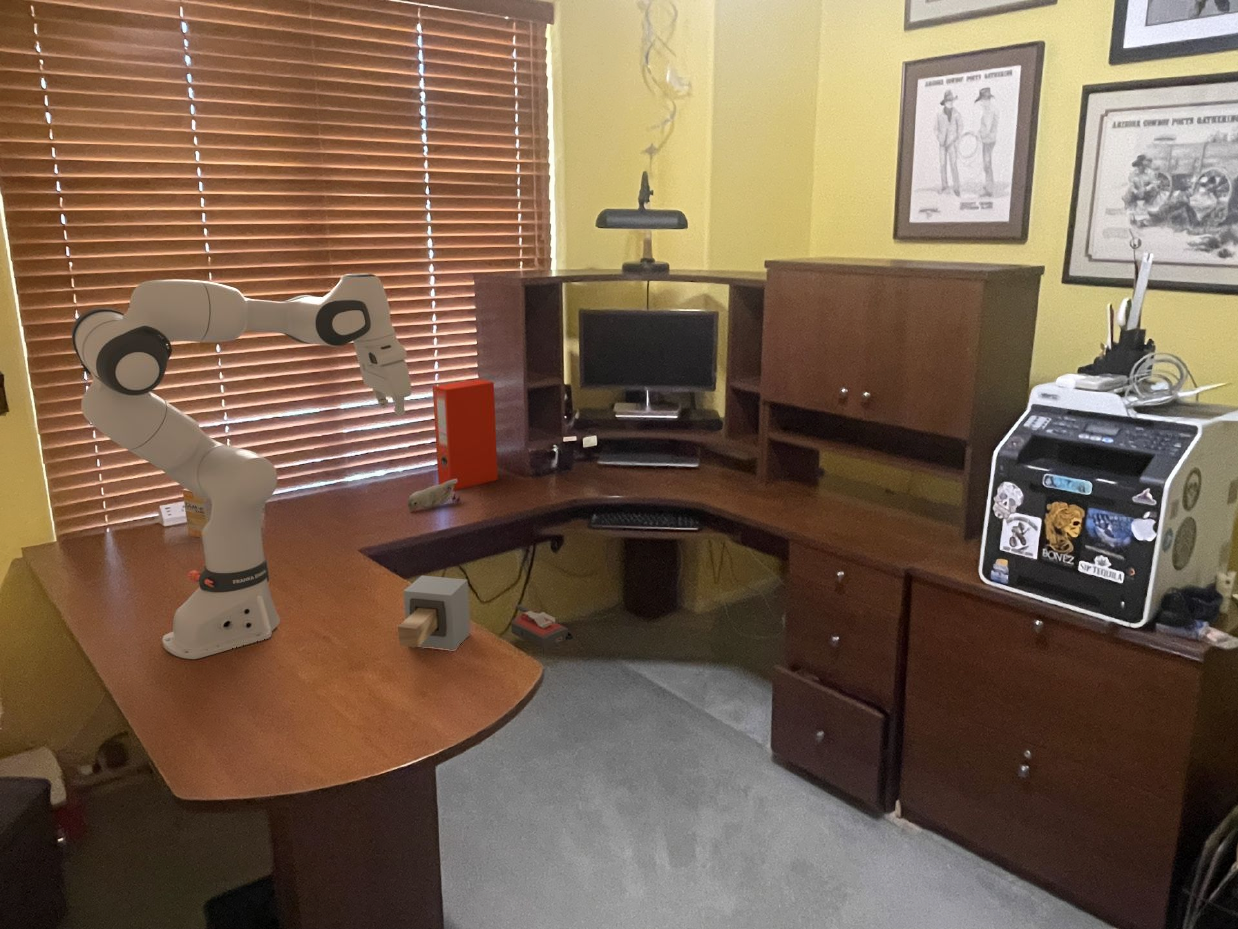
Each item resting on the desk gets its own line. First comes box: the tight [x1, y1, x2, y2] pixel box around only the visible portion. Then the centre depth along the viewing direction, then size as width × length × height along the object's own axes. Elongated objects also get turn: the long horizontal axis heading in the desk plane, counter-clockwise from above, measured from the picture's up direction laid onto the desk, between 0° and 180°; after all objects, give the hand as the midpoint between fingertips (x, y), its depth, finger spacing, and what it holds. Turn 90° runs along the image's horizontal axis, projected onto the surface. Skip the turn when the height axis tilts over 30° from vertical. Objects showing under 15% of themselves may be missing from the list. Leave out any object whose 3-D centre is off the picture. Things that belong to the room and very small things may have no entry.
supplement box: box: [182, 488, 212, 539], centre depth 244 cm, size 8×5×13 cm, turn 62°
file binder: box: [432, 378, 499, 491], centre depth 286 cm, size 8×17×32 cm, turn 132°
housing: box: [403, 575, 472, 650], centre depth 181 cm, size 9×10×12 cm
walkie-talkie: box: [510, 604, 574, 650], centre depth 187 cm, size 9×4×20 cm
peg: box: [397, 607, 439, 648], centre depth 176 cm, size 14×4×4 cm, turn 166°
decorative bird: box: [407, 479, 461, 514], centre depth 266 cm, size 5×16×8 cm, turn 128°
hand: (392, 410), depth 197 cm, fingers open, 8 cm apart
